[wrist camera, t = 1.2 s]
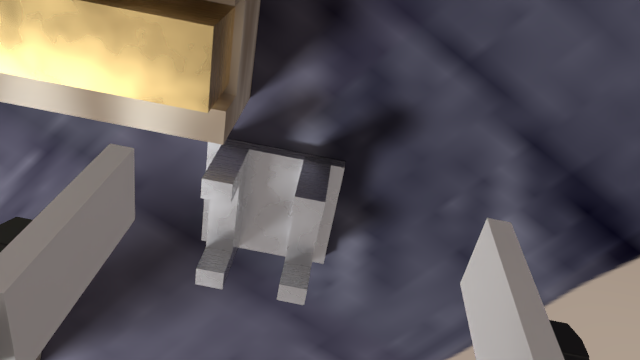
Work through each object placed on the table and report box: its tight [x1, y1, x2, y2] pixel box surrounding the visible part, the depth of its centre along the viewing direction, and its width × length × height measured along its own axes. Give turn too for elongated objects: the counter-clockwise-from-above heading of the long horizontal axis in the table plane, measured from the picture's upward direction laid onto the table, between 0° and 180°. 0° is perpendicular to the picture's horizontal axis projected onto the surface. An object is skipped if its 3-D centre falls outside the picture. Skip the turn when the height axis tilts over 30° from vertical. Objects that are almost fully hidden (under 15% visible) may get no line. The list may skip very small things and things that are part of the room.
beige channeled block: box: [0, 0, 261, 145], centre depth 31 cm, size 16×10×8 cm, turn 81°
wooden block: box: [0, 0, 235, 113], centre depth 28 cm, size 14×4×4 cm, turn 81°
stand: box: [195, 139, 345, 305], centre depth 38 cm, size 10×9×6 cm
